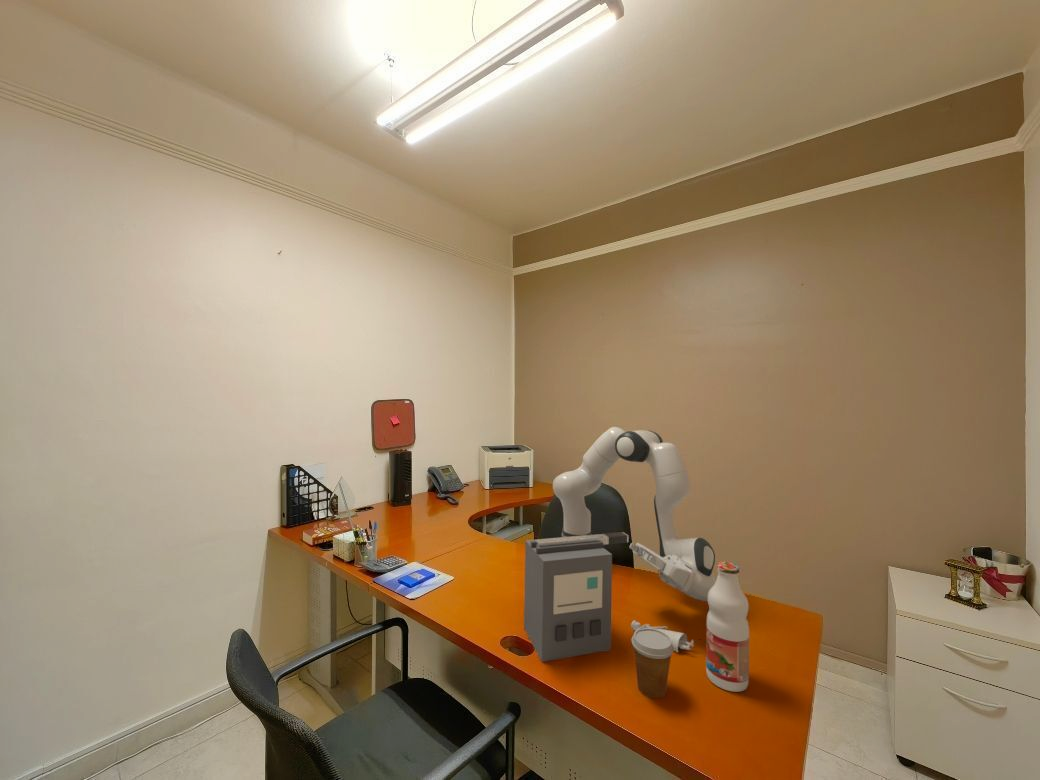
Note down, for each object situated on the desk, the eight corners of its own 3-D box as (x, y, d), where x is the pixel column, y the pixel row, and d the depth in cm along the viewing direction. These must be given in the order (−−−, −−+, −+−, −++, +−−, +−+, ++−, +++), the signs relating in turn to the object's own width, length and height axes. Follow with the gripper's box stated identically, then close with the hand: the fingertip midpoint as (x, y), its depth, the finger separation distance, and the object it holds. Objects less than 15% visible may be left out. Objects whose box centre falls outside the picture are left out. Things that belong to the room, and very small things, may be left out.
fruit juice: (757, 693, 96) (758, 573, 97) (717, 693, 96) (718, 573, 97) (735, 667, 106) (736, 558, 106) (699, 666, 106) (700, 557, 106)
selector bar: (535, 546, 116) (535, 539, 116) (623, 538, 124) (623, 531, 124) (538, 550, 113) (539, 543, 113) (628, 542, 121) (628, 535, 121)
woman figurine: (682, 646, 107) (621, 624, 119) (683, 664, 107) (622, 639, 119) (699, 629, 115) (640, 609, 128) (700, 645, 115) (641, 624, 127)
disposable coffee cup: (671, 679, 101) (671, 630, 101) (674, 708, 91) (675, 653, 92) (631, 672, 103) (631, 624, 103) (630, 698, 94) (631, 646, 94)
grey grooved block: (523, 628, 122) (525, 535, 122) (585, 619, 127) (586, 530, 128) (543, 664, 106) (544, 557, 106) (612, 652, 111) (613, 550, 112)
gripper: (657, 548, 138) (626, 530, 135) (700, 575, 118) (665, 554, 115) (649, 566, 137) (617, 548, 134) (690, 595, 117) (654, 575, 114)
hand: (639, 551), depth 124 cm, fingers open, 8 cm apart
